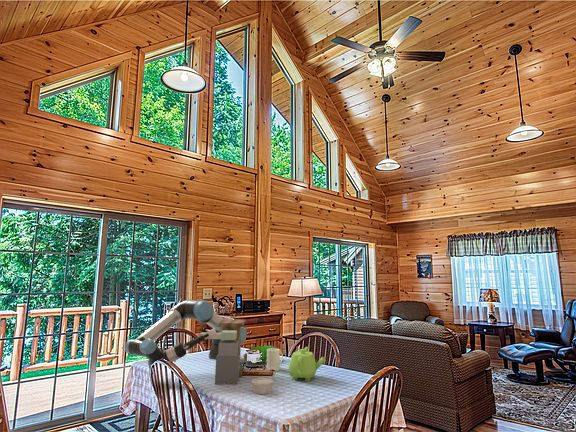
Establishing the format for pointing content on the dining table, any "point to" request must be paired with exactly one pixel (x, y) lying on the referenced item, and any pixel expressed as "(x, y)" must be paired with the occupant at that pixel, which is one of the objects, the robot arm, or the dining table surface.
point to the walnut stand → (236, 325)
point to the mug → (274, 358)
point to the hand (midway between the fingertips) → (214, 330)
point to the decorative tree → (262, 349)
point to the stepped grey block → (227, 362)
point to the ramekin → (262, 385)
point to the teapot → (304, 364)
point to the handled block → (223, 335)
